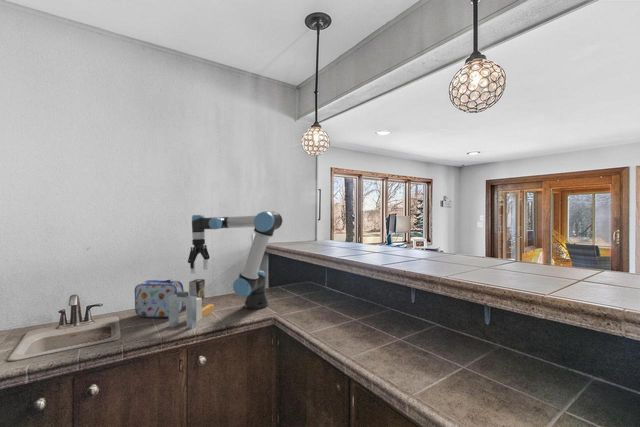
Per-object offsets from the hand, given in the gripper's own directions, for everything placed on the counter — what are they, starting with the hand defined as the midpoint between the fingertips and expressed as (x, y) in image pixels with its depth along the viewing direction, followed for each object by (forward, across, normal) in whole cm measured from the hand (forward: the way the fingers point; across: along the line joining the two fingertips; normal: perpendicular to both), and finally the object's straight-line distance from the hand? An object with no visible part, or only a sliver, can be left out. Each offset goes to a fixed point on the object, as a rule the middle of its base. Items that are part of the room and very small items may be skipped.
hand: (199, 271), depth 194 cm
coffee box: (+23, -5, -6) cm, 25 cm away
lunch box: (+23, +18, -14) cm, 33 cm away
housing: (+24, +31, +9) cm, 40 cm away
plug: (+24, +13, +10) cm, 29 cm away
